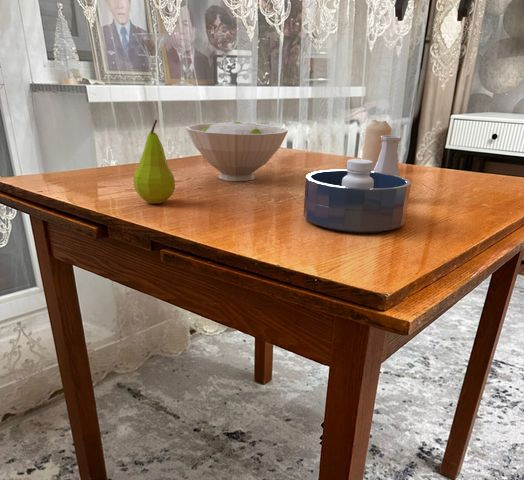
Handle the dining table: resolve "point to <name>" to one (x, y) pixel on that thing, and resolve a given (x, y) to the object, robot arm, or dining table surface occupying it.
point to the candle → (374, 140)
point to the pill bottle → (358, 174)
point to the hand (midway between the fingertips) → (429, 16)
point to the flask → (388, 155)
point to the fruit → (154, 172)
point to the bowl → (236, 146)
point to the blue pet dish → (356, 202)
